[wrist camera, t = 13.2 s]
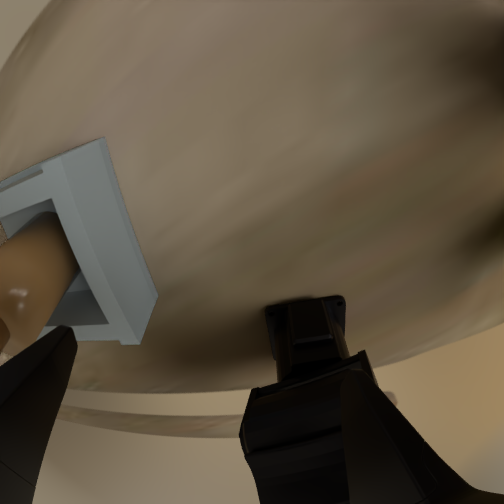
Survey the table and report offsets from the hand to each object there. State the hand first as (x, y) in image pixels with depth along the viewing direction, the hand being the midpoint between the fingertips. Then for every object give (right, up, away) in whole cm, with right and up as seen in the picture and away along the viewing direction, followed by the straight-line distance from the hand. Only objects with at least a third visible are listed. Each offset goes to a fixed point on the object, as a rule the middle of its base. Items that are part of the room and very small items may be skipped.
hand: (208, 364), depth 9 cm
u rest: (-14, +4, +12) cm, 19 cm away
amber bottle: (-14, +4, +12) cm, 19 cm away
